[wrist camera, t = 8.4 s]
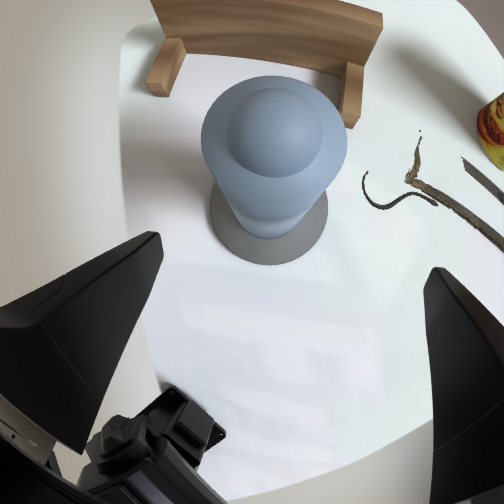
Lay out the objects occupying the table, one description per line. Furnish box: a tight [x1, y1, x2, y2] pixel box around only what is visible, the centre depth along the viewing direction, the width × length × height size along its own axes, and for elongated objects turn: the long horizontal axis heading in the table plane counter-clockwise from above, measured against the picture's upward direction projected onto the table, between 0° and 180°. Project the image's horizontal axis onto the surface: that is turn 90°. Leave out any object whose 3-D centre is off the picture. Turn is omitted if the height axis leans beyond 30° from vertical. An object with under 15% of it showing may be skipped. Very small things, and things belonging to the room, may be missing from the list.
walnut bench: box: [145, 0, 383, 129], centre depth 20 cm, size 8×18×8 cm, turn 78°
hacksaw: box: [362, 130, 504, 252], centre depth 22 cm, size 24×10×2 cm, turn 61°
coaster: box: [210, 182, 328, 265], centre depth 23 cm, size 9×9×1 cm
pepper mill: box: [201, 76, 347, 239], centre depth 15 cm, size 5×5×15 cm
